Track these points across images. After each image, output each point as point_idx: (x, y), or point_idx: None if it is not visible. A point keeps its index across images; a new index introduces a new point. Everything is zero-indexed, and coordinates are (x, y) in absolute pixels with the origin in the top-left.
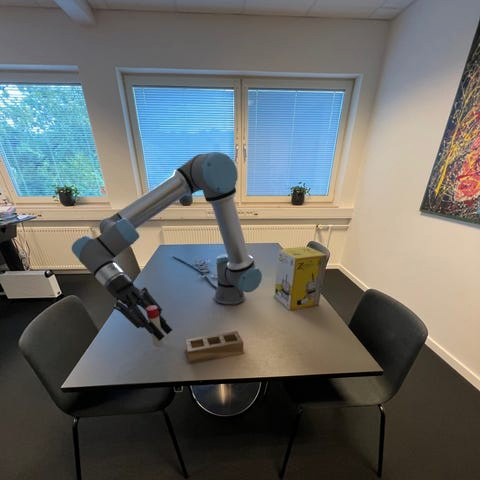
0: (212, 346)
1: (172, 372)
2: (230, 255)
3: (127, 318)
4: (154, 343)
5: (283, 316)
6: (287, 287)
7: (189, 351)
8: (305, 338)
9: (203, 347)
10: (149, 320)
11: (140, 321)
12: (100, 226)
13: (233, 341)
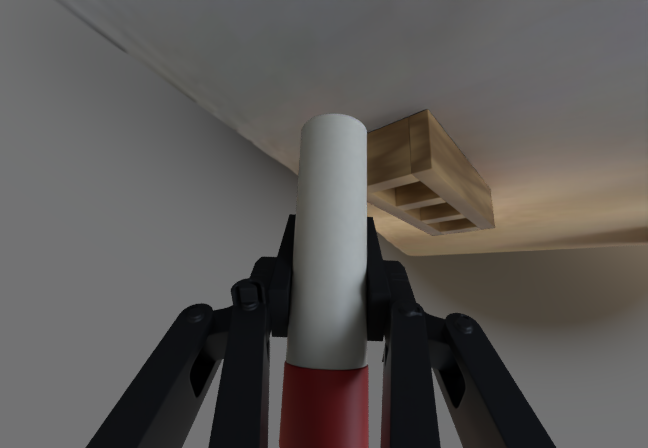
0: (397, 214)
1: (277, 122)
2: None
3: (101, 430)
4: (300, 151)
5: (621, 221)
6: None
7: None
8: (491, 236)
9: (385, 207)
10: (287, 341)
11: (207, 369)
12: None
13: (432, 229)
